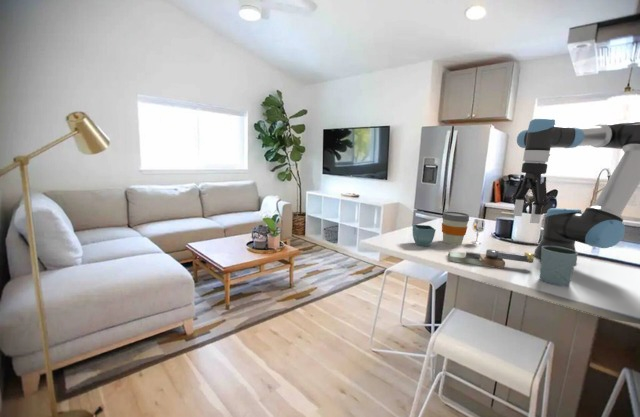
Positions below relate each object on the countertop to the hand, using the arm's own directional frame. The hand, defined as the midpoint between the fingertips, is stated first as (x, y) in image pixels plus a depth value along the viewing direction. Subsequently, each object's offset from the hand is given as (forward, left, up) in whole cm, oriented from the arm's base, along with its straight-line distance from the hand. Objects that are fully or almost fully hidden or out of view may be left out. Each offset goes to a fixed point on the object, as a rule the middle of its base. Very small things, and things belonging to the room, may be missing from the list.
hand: (525, 219), depth 114 cm
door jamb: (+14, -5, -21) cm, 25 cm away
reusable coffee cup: (+20, -33, -21) cm, 44 cm away
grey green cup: (-10, +6, -21) cm, 24 cm away
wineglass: (+8, -38, -21) cm, 44 cm away
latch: (+2, -5, -18) cm, 18 cm away
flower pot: (+35, -21, -21) cm, 46 cm away
